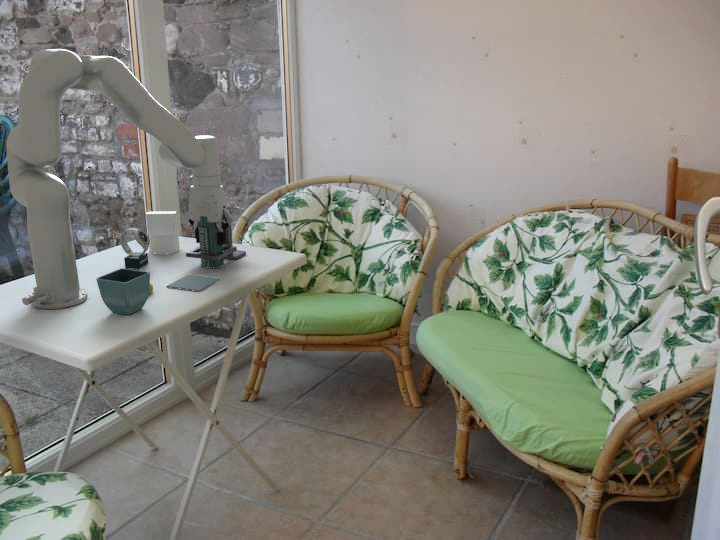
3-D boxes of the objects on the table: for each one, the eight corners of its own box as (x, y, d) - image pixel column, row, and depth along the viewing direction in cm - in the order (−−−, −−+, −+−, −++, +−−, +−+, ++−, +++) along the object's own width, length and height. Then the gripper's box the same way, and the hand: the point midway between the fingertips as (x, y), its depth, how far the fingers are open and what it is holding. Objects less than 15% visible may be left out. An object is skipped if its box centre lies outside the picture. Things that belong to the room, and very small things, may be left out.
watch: (146, 269, 187) (142, 231, 183) (119, 267, 188) (115, 230, 185) (154, 263, 192) (151, 226, 189) (129, 262, 193) (125, 225, 190)
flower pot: (125, 302, 162) (121, 267, 160) (154, 306, 159) (151, 271, 157) (99, 314, 155) (95, 278, 152) (130, 319, 152) (125, 283, 149)
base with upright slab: (182, 246, 210) (179, 209, 206) (176, 254, 201) (173, 215, 197) (153, 246, 209) (149, 209, 205) (146, 254, 201) (142, 216, 197)
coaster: (199, 291, 169) (199, 290, 169) (166, 287, 172) (166, 285, 172) (219, 279, 178) (219, 278, 178) (188, 275, 181) (188, 274, 181)
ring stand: (218, 272, 185) (215, 223, 180) (187, 268, 188) (183, 220, 184) (249, 254, 201) (247, 209, 196) (219, 251, 204) (216, 207, 199)
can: (227, 264, 191) (224, 214, 186) (209, 269, 187) (205, 217, 182) (215, 260, 195) (212, 210, 190) (197, 264, 191) (193, 214, 186)
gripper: (172, 181, 183) (177, 243, 188) (227, 185, 177) (231, 249, 183) (187, 177, 189) (192, 237, 195) (240, 180, 184) (244, 242, 190)
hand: (211, 242), depth 189 cm, fingers closed on can, 6 cm apart
